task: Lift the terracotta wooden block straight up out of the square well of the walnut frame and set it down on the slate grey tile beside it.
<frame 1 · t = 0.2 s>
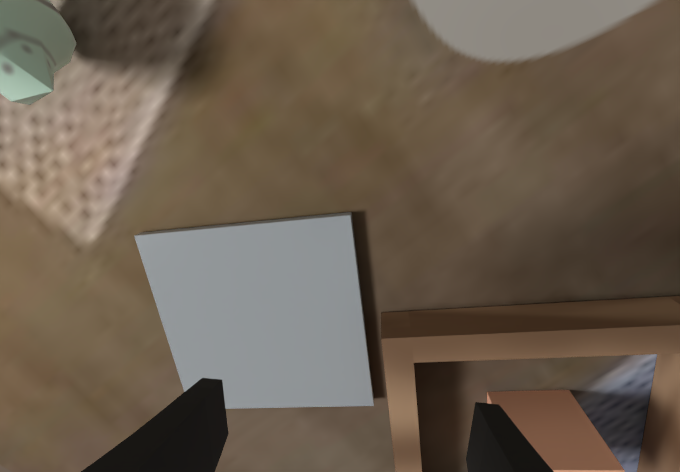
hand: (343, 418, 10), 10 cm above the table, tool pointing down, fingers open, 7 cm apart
pale green pointed piece: (64, 39, 17), on the table
well frame: (526, 421, 21), on the table
terracotta block: (525, 420, 22), resting in well frame
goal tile: (262, 319, 21), on the table
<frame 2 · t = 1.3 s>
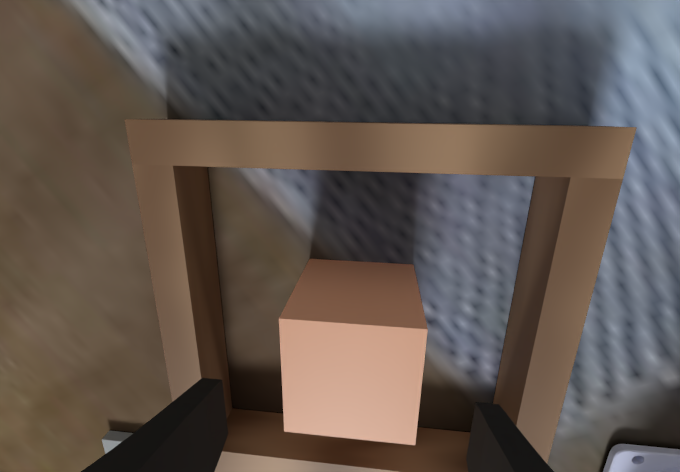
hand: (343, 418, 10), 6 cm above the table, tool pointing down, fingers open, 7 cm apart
well frame: (359, 308, 16), on the table
terracotta block: (359, 306, 16), resting in well frame
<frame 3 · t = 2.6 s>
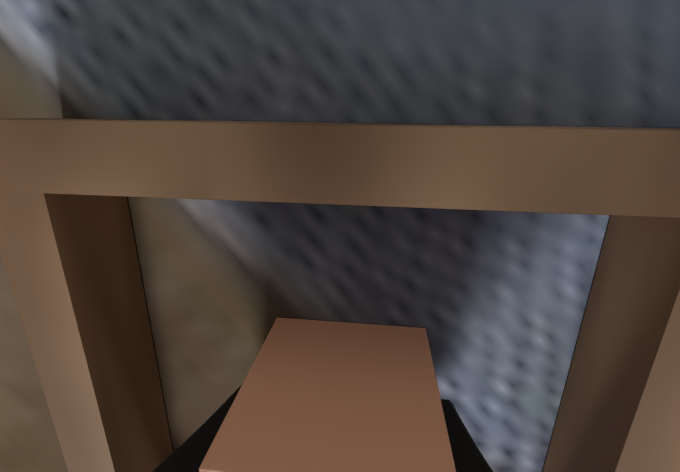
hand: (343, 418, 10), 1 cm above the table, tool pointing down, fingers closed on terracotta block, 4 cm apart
well frame: (348, 383, 11), on the table
terracotta block: (348, 383, 11), resting in well frame, touching gripper
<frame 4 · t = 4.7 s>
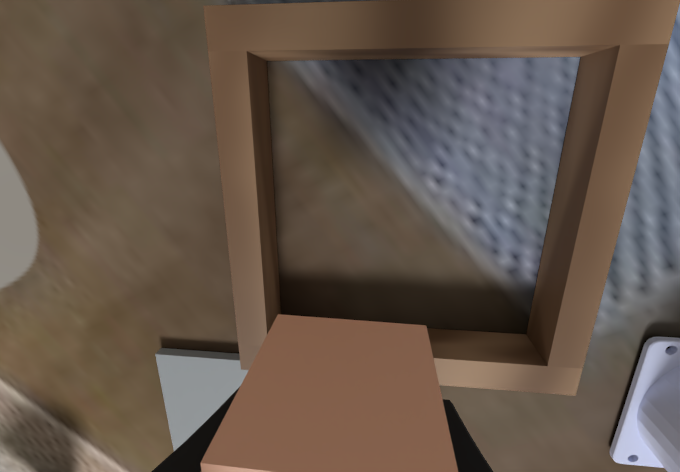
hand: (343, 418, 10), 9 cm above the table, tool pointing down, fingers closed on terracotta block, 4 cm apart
well frame: (407, 208, 17), on the table
terracotta block: (348, 380, 11), point 7 cm above the table, touching gripper
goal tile: (264, 434, 23), on the table
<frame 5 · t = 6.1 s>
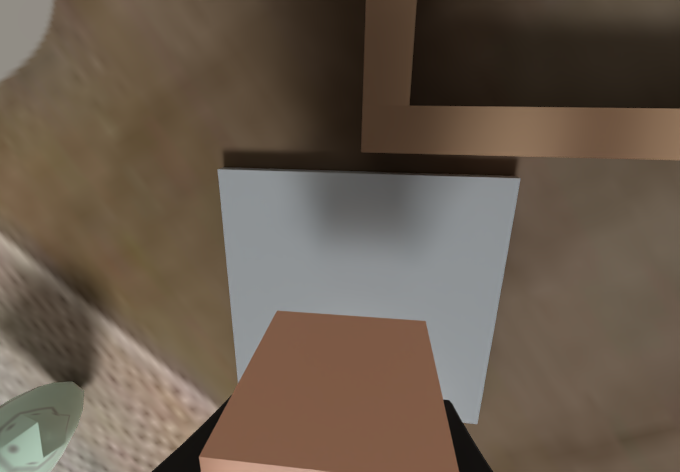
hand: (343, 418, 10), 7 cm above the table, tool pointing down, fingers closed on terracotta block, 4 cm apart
pale green pointed piece: (80, 388, 21), on the table
terracotta block: (348, 376, 11), point 5 cm above the table, touching gripper
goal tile: (359, 300, 17), on the table
when the fingers open (3 cm above the table, at t = 7.2 s): terracotta block stays where it is, resting on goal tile.
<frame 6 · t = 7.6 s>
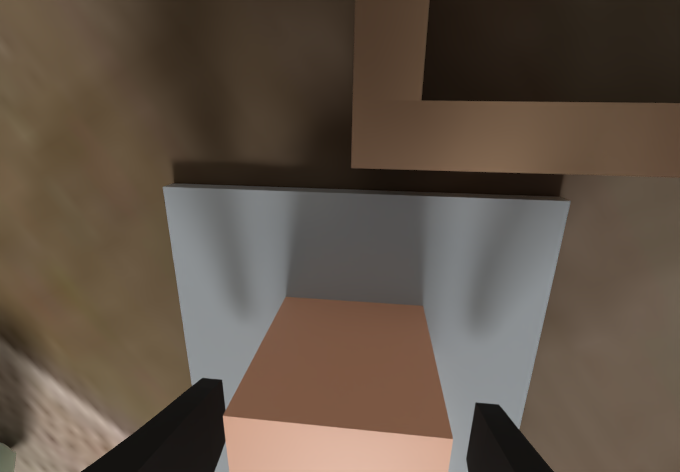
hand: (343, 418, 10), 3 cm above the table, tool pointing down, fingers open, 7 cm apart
pale green pointed piece: (14, 446, 17), on the table
terracotta block: (351, 358, 12), point 1 cm above the table, touching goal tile
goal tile: (351, 352, 13), on the table
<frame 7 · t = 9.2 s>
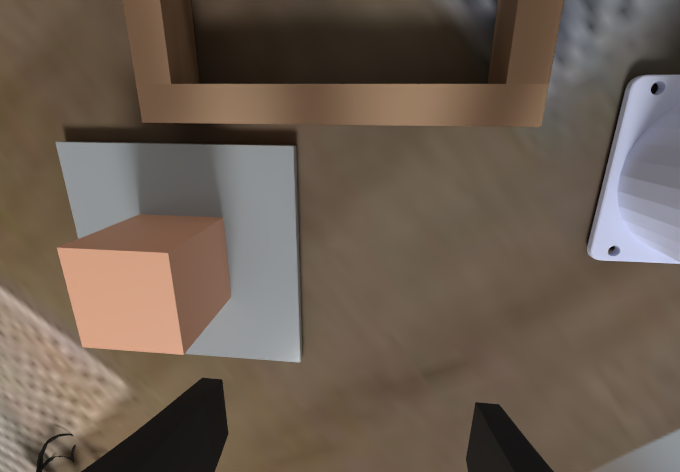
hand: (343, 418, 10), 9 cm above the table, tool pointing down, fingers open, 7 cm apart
terracotta block: (186, 256, 19), point 1 cm above the table, touching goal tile
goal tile: (192, 255, 20), on the table
creature: (79, 469, 27), on the table
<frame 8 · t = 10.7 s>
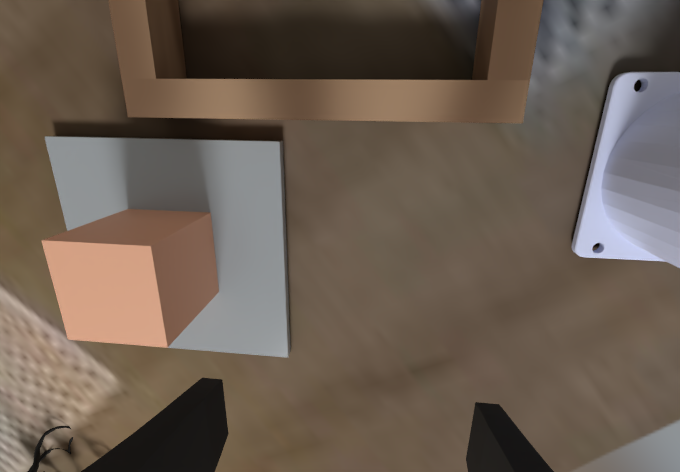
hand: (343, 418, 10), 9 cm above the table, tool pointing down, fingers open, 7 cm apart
terracotta block: (174, 251, 19), point 1 cm above the table, touching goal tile
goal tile: (180, 250, 20), on the table
creature: (76, 461, 27), on the table
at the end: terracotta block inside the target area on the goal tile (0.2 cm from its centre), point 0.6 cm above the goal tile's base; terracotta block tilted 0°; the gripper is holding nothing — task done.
